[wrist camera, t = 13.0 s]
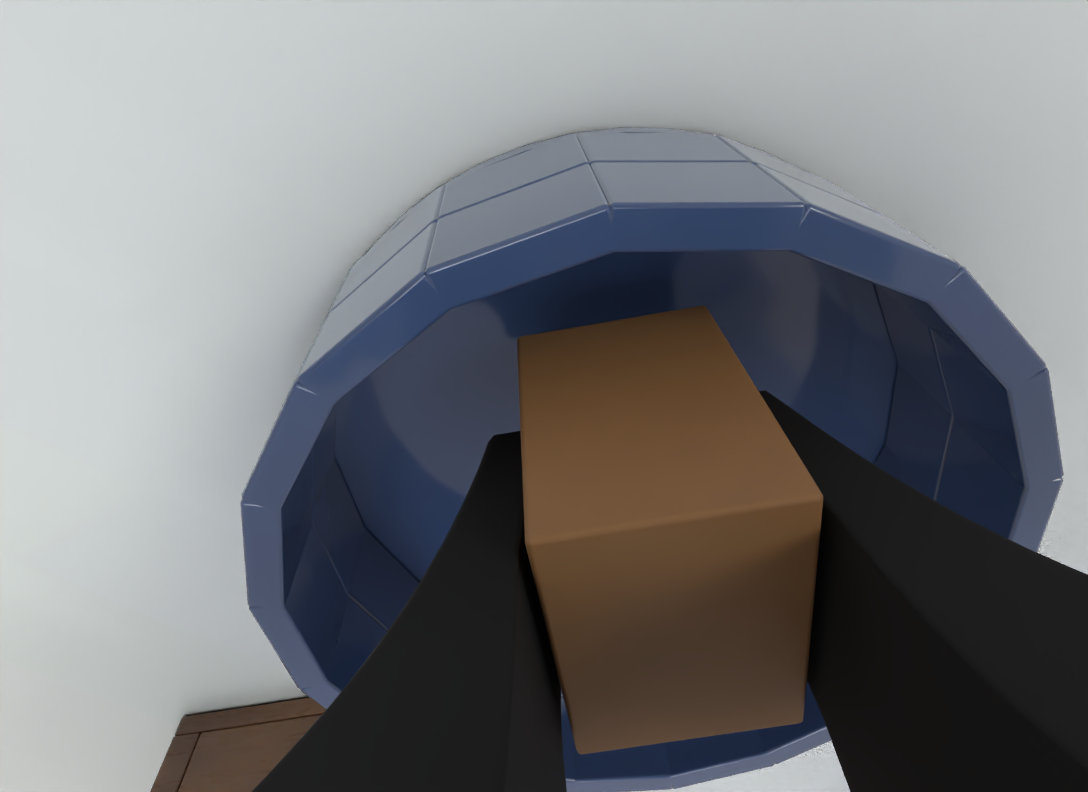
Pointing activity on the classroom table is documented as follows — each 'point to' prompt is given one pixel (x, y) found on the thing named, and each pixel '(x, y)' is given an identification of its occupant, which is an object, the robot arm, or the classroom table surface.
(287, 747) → the holder
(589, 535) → the kraft packet
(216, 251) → the classroom table surface
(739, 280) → the bowl
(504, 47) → the classroom table surface
